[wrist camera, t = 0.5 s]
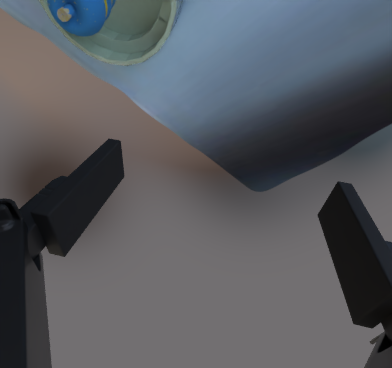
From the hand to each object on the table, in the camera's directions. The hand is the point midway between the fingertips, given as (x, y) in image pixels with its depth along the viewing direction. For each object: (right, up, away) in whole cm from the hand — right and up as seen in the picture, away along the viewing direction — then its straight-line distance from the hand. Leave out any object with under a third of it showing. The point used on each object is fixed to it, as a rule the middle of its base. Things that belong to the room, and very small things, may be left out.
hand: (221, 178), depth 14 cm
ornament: (-11, +25, +14) cm, 31 cm away
